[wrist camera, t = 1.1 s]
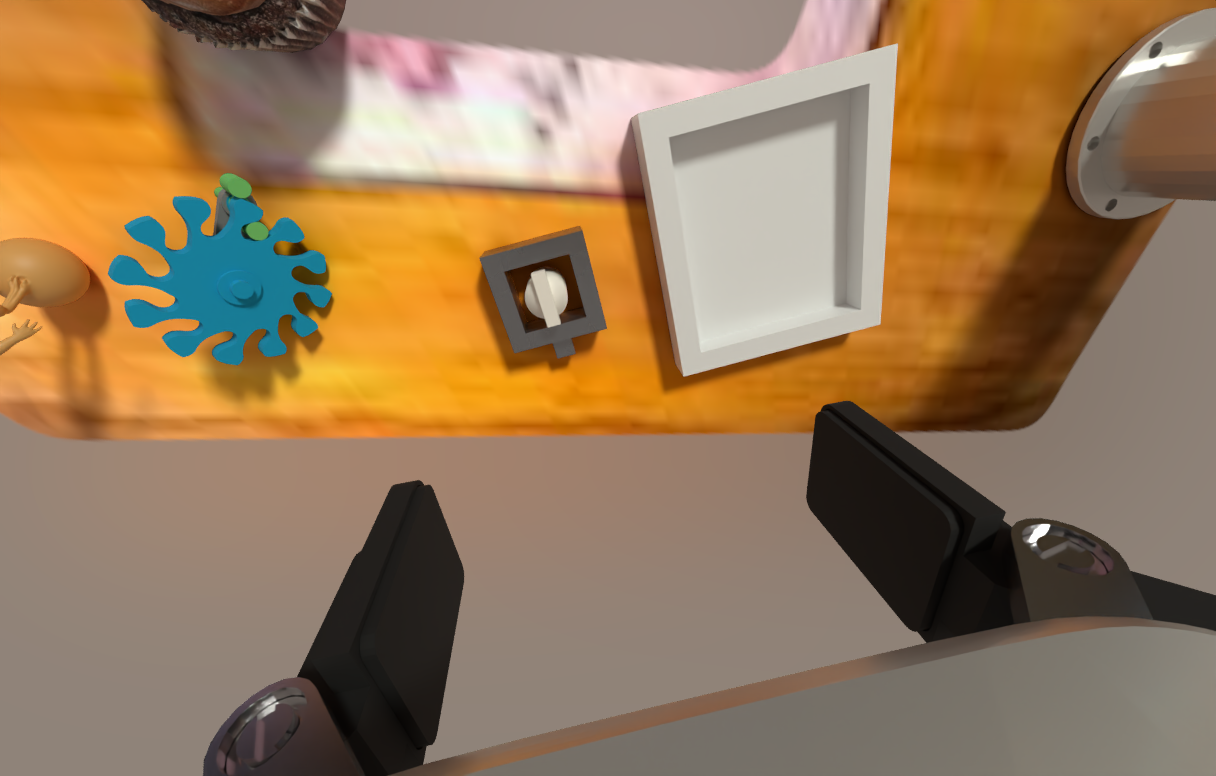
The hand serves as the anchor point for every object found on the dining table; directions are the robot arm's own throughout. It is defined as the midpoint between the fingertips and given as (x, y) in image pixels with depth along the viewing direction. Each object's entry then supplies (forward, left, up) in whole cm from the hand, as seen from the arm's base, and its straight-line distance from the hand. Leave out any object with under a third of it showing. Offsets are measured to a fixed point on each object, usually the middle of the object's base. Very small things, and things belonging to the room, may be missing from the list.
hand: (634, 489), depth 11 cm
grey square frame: (+3, 0, -24) cm, 24 cm away
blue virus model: (+20, -6, -24) cm, 32 cm away
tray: (-13, 0, -24) cm, 27 cm away
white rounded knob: (+3, 0, -24) cm, 24 cm away
